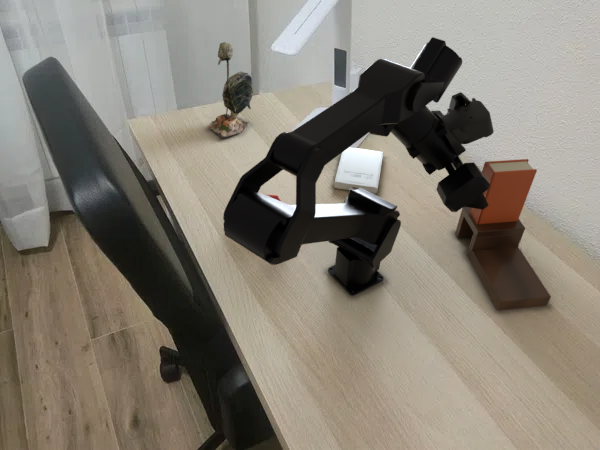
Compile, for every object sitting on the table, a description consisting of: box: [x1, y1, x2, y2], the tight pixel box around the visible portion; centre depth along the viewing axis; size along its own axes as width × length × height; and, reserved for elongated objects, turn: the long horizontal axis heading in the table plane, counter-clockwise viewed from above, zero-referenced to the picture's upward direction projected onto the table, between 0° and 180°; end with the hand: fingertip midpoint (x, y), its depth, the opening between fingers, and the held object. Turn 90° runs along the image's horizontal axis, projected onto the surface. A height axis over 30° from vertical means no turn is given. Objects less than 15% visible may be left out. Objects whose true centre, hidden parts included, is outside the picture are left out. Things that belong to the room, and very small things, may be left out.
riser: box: [454, 207, 552, 311], centre depth 87 cm, size 8×18×6 cm, turn 9°
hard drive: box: [333, 146, 384, 195], centre depth 108 cm, size 2×8×12 cm
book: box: [470, 158, 538, 224], centre depth 86 cm, size 7×3×10 cm, turn 99°
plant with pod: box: [206, 41, 254, 138], centre depth 113 cm, size 8×11×20 cm
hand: (474, 188), depth 84 cm, fingers open, 9 cm apart
